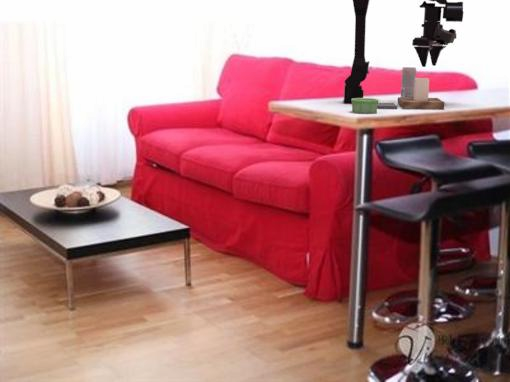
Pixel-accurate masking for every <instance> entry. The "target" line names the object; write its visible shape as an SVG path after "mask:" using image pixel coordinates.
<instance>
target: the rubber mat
mask: <svg viewBox="0 0 510 382" xmlns="http://www.w3.org/2000/svg"><path fill="white" fill-rule="evenodd" d="M380 109H381V110H384V109H385V110H397V109H398V104H396V103H394V102H378V105H377V110H380Z"/></svg>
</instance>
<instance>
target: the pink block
mask: <svg viewBox="0 0 510 382" xmlns="http://www.w3.org/2000/svg"><path fill="white" fill-rule="evenodd" d="M429 90H430V78H428V77H416V78H415V79H414V97H413V101H428V98H429Z"/></svg>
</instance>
